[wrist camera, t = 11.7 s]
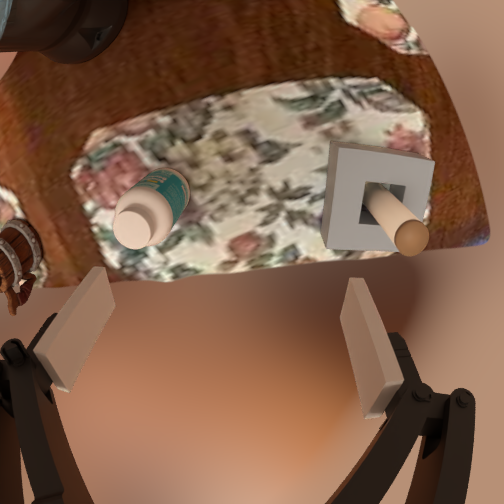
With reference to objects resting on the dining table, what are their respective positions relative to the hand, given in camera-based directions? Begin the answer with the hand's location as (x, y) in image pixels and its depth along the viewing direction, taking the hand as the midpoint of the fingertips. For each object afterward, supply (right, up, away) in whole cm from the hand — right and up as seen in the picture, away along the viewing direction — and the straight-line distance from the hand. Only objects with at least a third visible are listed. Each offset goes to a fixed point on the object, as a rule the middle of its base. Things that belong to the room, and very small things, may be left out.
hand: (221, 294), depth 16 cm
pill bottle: (-11, +11, +27) cm, 32 cm away
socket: (+19, +11, +26) cm, 34 cm away
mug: (-44, +3, +34) cm, 56 cm away
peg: (+19, +11, +26) cm, 34 cm away
